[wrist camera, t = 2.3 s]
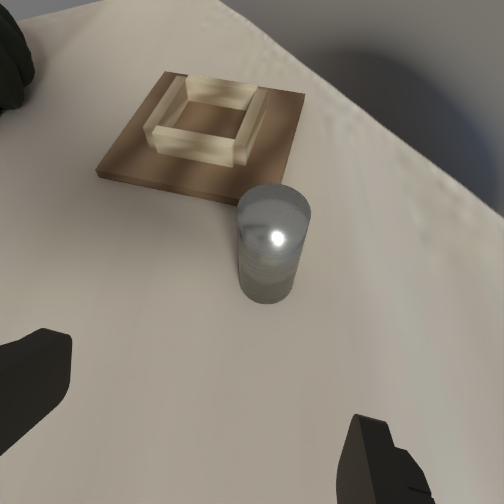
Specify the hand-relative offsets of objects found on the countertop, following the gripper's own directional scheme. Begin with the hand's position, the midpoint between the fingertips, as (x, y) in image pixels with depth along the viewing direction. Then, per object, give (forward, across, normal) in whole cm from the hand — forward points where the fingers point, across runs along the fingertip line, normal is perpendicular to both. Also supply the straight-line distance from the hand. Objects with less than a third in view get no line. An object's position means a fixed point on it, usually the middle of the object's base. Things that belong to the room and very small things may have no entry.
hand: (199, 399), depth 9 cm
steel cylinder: (+19, 0, +2) cm, 19 cm away
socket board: (+30, +10, -9) cm, 33 cm away
